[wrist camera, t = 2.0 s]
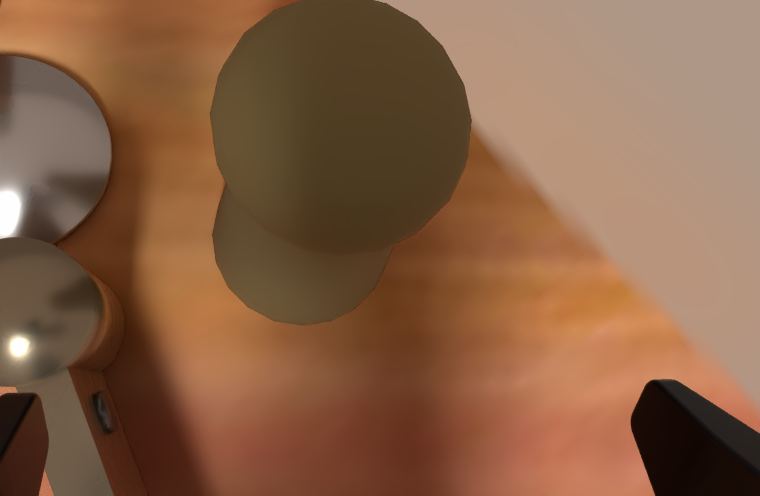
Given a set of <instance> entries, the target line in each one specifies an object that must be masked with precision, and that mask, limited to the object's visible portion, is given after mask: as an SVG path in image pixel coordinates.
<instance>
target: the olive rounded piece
mask: <svg viewBox="0 0 760 496" xmlns="http://www.w3.org/2000/svg"><path fill="white" fill-rule="evenodd" d="M210 118H211V126H212V133H213V141H214V149H215V156H216V161H217V165H218V167H219V169H220V171H221V173H222V175H223V177H224V179H225V181H226V186H225V189H224V192H223V195H222V197H221V200H220V203H219V206H218V210H217V215H216V219H215V224H214V229H213V234H212V236H213V244H214V252H215V260H216V263H217V265H218V267H219V269H220V271H221V274H222V276H223V278H224V280H225V282H226V284H227V286H228V288H229V289H230V290H231V291H232V292H233V293H234V294H235V295H236V296H237V297H238V298H239V299H240V300H241V301H242V302H243V303H244V304H245V305H246V306H247V307H248V308H250V309H252V310H254V311H256V312H258V313H260V314H262V315H264V316H266V317H268V318H270V319H272V320H274V321H279V322H285V323H291V324H297V325H308V324H314V323H321V322H327V321H331V320H333V319H335V318H337V317H339V316H341V315H343V314H345V313H347V312H349V311H351V310H353V309H355V308H356V307H357V306H358V305H359V304H360V303H361V302H362V301H363V300H364V299H365V298H366V297H367V296H368V295H369V294H370V293H371V292H372V291H373V290H374V288H375V286H376V284H377V282H378V280H379V278H380V276H381V274H382V272H383V270H384V268H385V266H386V263H387V260H388V258H389V255H390V253H391V250H392V247H393V245H394V244H396V243H398V242H400V241H402V240H404V239H406V238H408V237H410V236H412V235H414V234H415V233H416V232H418V231H419V230H420V229H421V228H422V227H423V226H424V225H425V224H426V223H427V222H428V221H429V220H430V219H431V218H432V217H433V216H434V215H435V214H436V213H437V212H438V211H439V210H440V209H441V208H442V207H443V206H444V205H445V204H446V203H447V202H448V201H449V200H450V197H451V195H452V193H453V191H454V189H455V187H456V185H457V183H458V181H459V179H460V176H461V174H462V172H463V170H464V168H465V164H466V161H467V157H468V149H469V139H470V130H471V121H472V119H471V115H470V110H469V106H468V101H467V96H466V92H465V87H464V84H463V82H462V80H461V78H460V76H459V75H458V73H457V71H456V69H455V67H454V66H453V64H452V62H451V60H450V58H449V57H448V55H447V53H446V51H445V50H444V48H443V46H442V45H441V44H440V43H439V42H438V41H437V40H436V39H435V38H434V37H433V36H432V35H431V34H430V33H429V32H428V31H427V30H426V29H425V28H424V27H423V26H422V25H421V24H420V23H419V22H418V21H417V20H415V19H413V18H411V17H409V16H408V15H406V14H404V13H402V12H400V11H399V10H397V9H395V8H393V7H392V6H390V5H388V4H386V3H382V2H378V1H374V0H303V1H300V2H297V3H294V4H291V5H288V6H285V7H282V8H279V9H276V10H274V11H272V12H271V13H270V14H268V15H267V16H266V17H264V18H263V19H262V20H261V21H259V22H258V23H257V24H255V25H254V26H253V27H251V28H250V29H249V30H247V31H246V32H245V33H244V34H243V36H242V37H241V39H240V40H239V42H238V43H237V45H236V46H235V48H234V50H233V51H232V53H231V54H230V56H229V57H228V59H227V60H226V62H225V63H224V65H223V67H222V69H221V71H220V74H219V76H218V80H217V84H216V89H215V93H214V98H213V102H212V107H211V111H210Z"/></svg>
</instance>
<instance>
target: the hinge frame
mask: <svg viewBox="0 0 760 496" xmlns="http://www.w3.org/2000/svg"><path fill="white" fill-rule="evenodd" d="M112 162H113V148H112V141H111V135H110V132H109V129H108V126H107V123H106V121H105V119H104V117H103V115H102V113H101V111H100V109H99V107H98V106H97V104H96V103H95V101H94V100H93V98H92V97H91V96H90V95H89V94H88V92H87V91H86V90H85V89H84V88H83V87H82V86H81V85H79V84H78V83H77V82H76V81H75V80H74V79H72V78H71V77H69V76H68V75H66V74H65V73H63V72H62V71H60V70H58V69H56V68H54V67H52V66H50V65H47V64H44V63H42V62H39V61H36V60H32V59H28V58H24V57H18V56H10V55H0V386H4V387H16V389H17V392H18V393H28V392H33V393H36V394H38V395H39V396H40V398H41V401H42V405H43V410H44V415H45V420H46V425H47V430H48V435H49V448H48V454H47V459H46V464H45V471H46V474H47V477H48V480H49V483H50V485H51V488H52V491H53V494H54V496H148V494H147V492H146V489H145V486H144V484H143V481H142V478H141V476H140V473H139V470H138V468H137V465H136V462H135V460H134V457H133V454H132V451H131V449H130V446H129V443H128V441H127V438H126V435H125V433H124V430H123V427H122V425H121V422H120V419H119V417H118V414H117V411H116V409H115V406H114V403H113V400H112V398H111V395H110V392H109V390H108V387H107V384H106V382H105V379H104V376H103V374H102V371H104V370H105V369H106V368H107V367H108V366H109V365H110V363H111V362H112V361H113V359H114V358H115V357H116V355H117V353H118V351H119V349H120V347H121V345H122V342H123V338H124V332H125V318H124V312H123V309H122V306H121V304H120V302H119V300H118V298H117V297H116V295H115V293H114V292H113V291H112V290H111V289H110V288H109V287H108V286H107V285H106V284H104V283H103V282H102V281H101V280H99V279H98V278H97V277H96V276H94V275H93V274H92V273H91V272H89V271H88V270H87V269H86V268H84V267H83V266H82V265H81V264H79V263H78V262H77V261H76V260H74V259H73V258H72V257H70V256H69V255H68V254H67V253H65V252H64V251H62V250H61V249H59V248H58V247H56V246H54V245H53V244H55V243H56V242H58V241H60V240H62V239H63V238H65V237H66V236H68V235H69V234H70V233H72V232H73V231H74V230H76V229H77V228H78V227H79V226H80V225H81V224H82V223H83V222H84V221H85V220H86V219H87V218H88V217H89V215H90V214H91V213H92V212H93V211H94V209H95V208H96V206H97V205H98V203H99V201H100V200H101V198H102V196H103V194H104V192H105V190H106V187H107V185H108V181H109V178H110V175H111V169H112Z"/></svg>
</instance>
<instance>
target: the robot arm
mask: <svg viewBox="0 0 760 496" xmlns="http://www.w3.org/2000/svg"><path fill="white" fill-rule="evenodd" d="M631 429H632V433H633V435H634V438H635V441H636V444H637V447H638V449H639V452H640V455H641V458H642V460H643V463H644V466H645V469H646V471H647V474H648V477H649V480H650V483H651V485H652V488H653V491H654V494H655V496H760V433H758V432H757V431H755V430H754V429H752V428H750V427H749V426H747V425H746V424H744V423H743V422H741V421H739V420H738V419H736V418H735V417H733V416H732V415H730V414H728V413H727V412H725V411H724V410H722V409H721V408H719V407H718V406H716V405H714V404H713V403H711V402H710V401H708V400H707V399H705V398H703V397H702V396H700V395H699V394H697V393H696V392H694V391H693V390H691V389H689V388H688V387H686V386H685V385H683V384H682V383H680V382H678V381H676V380H672V379H660V380H651V381H649V382H648V383H647V384H646V385H645V387H644V389H643V391H642V393H641V396H640V398H639V400H638V402H637V404H636V406H635V408H634V410H633V413H632V415H631ZM48 448H49V435H48V430H47V425H46V420H45V415H44V410H43V405H42V401H41V398H40V396H39V395H38V394H36V393H33V392H28V393H6V394H3V395H1V396H0V496H39V491H40V486H41V482H42V477H43V473H44V468H45V464H46V459H47V454H48Z"/></svg>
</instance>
